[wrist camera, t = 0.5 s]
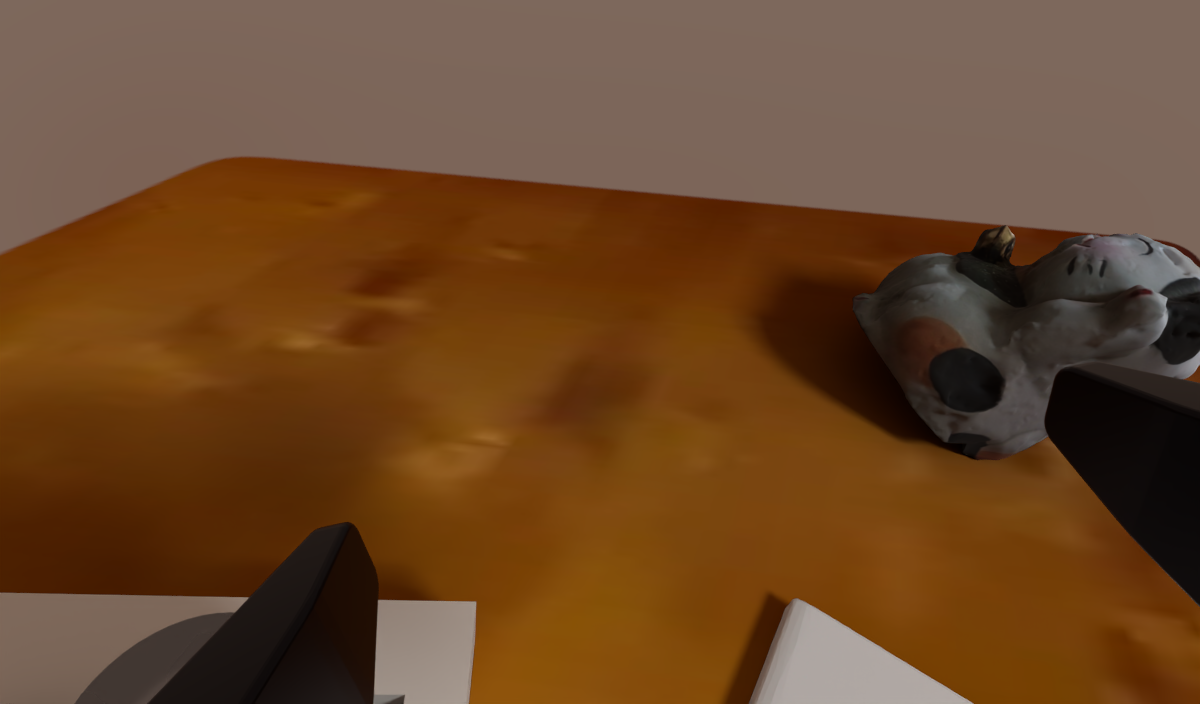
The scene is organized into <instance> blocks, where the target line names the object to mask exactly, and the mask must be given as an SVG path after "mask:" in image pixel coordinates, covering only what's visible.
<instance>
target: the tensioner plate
mask: <svg viewBox="0 0 1200 704" xmlns="http://www.w3.org/2000/svg"><path fill="white" fill-rule="evenodd" d="M248 598H249V597H198V596H146V595H94V594H41V593H0V704H74V703H75V702H76V701H77V699H78V698H79V696H80V695H81V694H82V693H83V692H84V690H85V689H86V688H87V687H88V686H89V685H90V683H91V682H92V681H93V680H94V679H95V678H96V677H97V676H98V675H99V674H100V673H101V672H102V671H103V670H104V669H105V668H106V667H107V666H108V665H109V664H110V663H112V662H113V661H114V660H115V659H116V658H118V657H119V656H120V655H121V654H122V653H124V652H125V651H127V650H128V649H130V648H131V647H132V646H134V645H135V644H137V643H138V642H140V641H141V640H143V639H145V638H147V637H148V636H150V635H152V634H153V633H155V632H157V631H159V630H162V629H164V628H166V627H168V626H170V625H173V624H175V623H178V622H181V621H183V620H186V619H190V618H194V617H197V616H201V615H207V614H214V613H227V612H236V611H237V610H238V609H239V608H240V607H241V606H242V604H243V603H244V602H245V601H246V600H247V599H248ZM475 621H476V602H460V601H408V600H378V614H377V637H376V661H375V684H374V702H373V704H469V696H470V685H471V675H472V664H473V654H474V643H475Z"/></svg>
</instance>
